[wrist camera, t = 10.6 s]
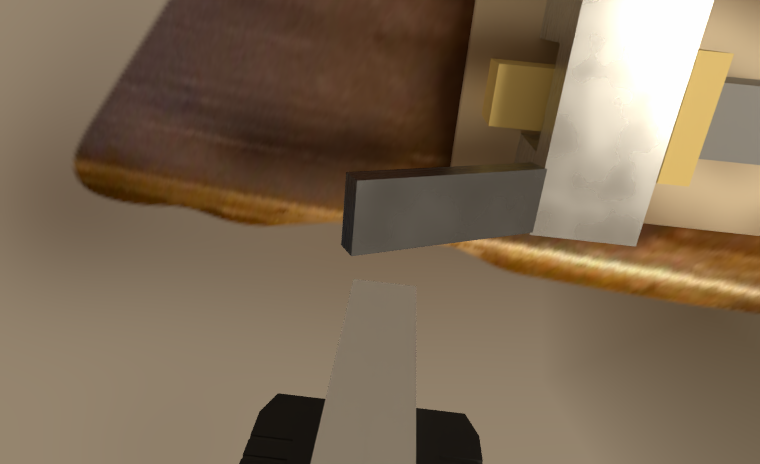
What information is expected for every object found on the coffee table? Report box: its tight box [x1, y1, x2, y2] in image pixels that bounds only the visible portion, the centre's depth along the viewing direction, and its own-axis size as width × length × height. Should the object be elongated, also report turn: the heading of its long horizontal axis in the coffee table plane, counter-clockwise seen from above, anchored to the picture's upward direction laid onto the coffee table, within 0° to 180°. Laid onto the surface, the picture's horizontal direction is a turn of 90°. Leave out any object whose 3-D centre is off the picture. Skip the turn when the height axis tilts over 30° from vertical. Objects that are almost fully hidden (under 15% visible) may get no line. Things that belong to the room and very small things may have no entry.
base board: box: [450, 0, 760, 236], centre depth 28 cm, size 15×26×1 cm, turn 85°
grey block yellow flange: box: [482, 49, 760, 187], centre depth 26 cm, size 6×14×5 cm, turn 85°
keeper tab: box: [341, 162, 547, 256], centre depth 22 cm, size 3×9×1 cm
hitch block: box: [514, 0, 714, 246], centre depth 25 cm, size 12×5×6 cm, turn 175°
